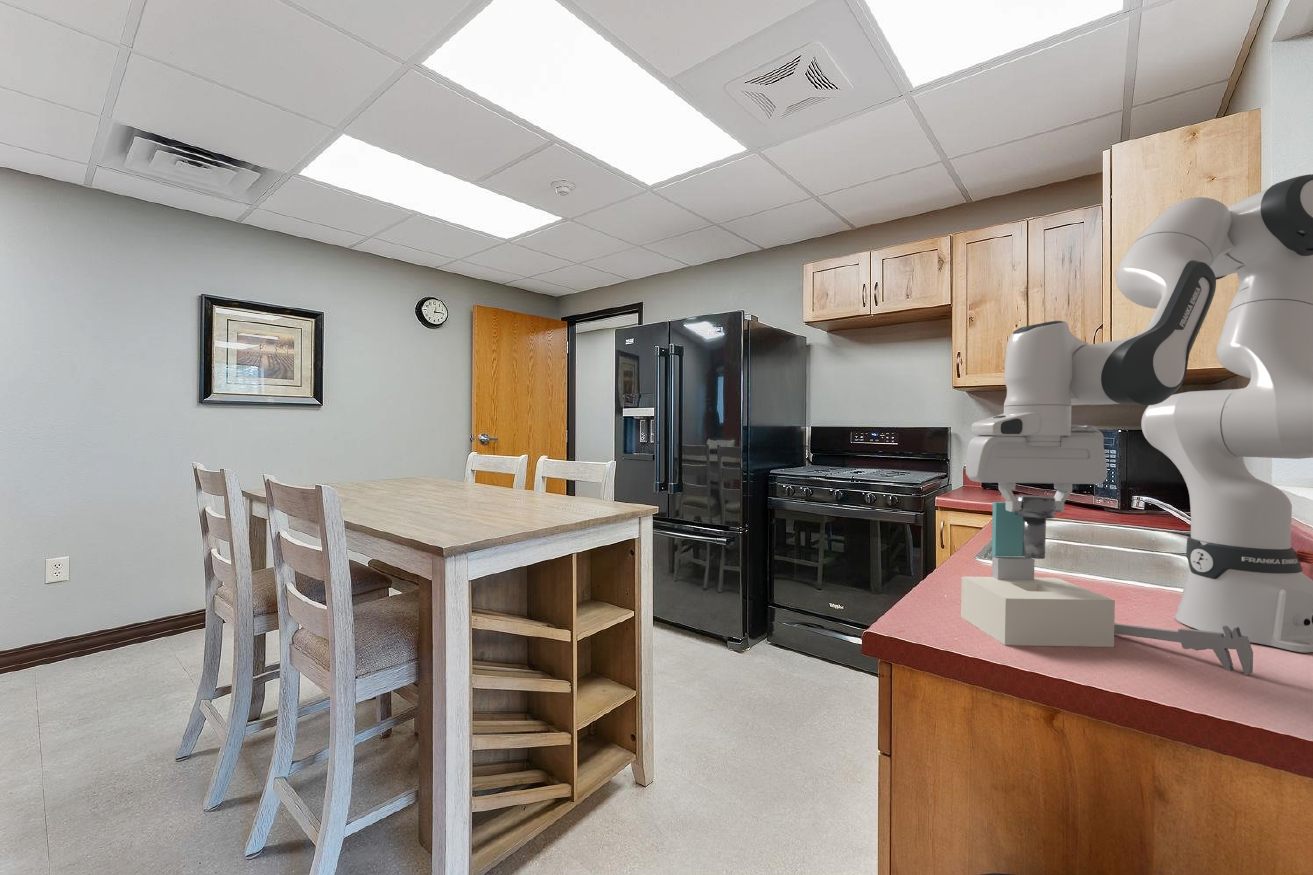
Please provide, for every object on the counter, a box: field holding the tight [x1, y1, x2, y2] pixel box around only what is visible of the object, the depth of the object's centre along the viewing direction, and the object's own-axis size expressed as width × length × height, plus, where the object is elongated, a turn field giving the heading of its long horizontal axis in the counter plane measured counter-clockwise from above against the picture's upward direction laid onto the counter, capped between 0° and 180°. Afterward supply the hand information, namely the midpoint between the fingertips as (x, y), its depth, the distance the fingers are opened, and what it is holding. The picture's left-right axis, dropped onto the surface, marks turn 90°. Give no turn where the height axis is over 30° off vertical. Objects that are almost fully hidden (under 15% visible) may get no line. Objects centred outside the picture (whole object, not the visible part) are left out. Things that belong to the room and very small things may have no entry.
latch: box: [991, 501, 1023, 557], centre depth 92 cm, size 6×9×1 cm
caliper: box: [1114, 622, 1254, 676], centre depth 81 cm, size 20×1×6 cm, turn 25°
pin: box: [1014, 494, 1056, 560], centre depth 86 cm, size 5×5×10 cm
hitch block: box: [960, 556, 1116, 648], centre depth 87 cm, size 16×12×10 cm
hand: (1034, 511), depth 86 cm, fingers closed on pin, 5 cm apart
